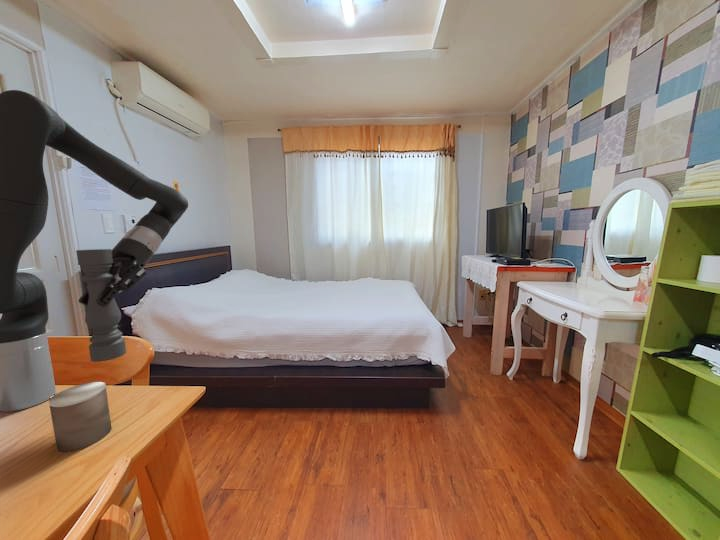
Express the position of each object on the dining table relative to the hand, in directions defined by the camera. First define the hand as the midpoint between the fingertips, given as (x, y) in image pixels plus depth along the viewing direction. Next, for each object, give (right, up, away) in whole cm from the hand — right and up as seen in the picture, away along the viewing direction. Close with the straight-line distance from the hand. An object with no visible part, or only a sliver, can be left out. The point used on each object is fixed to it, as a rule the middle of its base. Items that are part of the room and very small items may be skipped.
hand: (92, 303), depth 60 cm
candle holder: (0, -13, +4) cm, 13 cm away
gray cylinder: (+2, -27, -4) cm, 28 cm away
